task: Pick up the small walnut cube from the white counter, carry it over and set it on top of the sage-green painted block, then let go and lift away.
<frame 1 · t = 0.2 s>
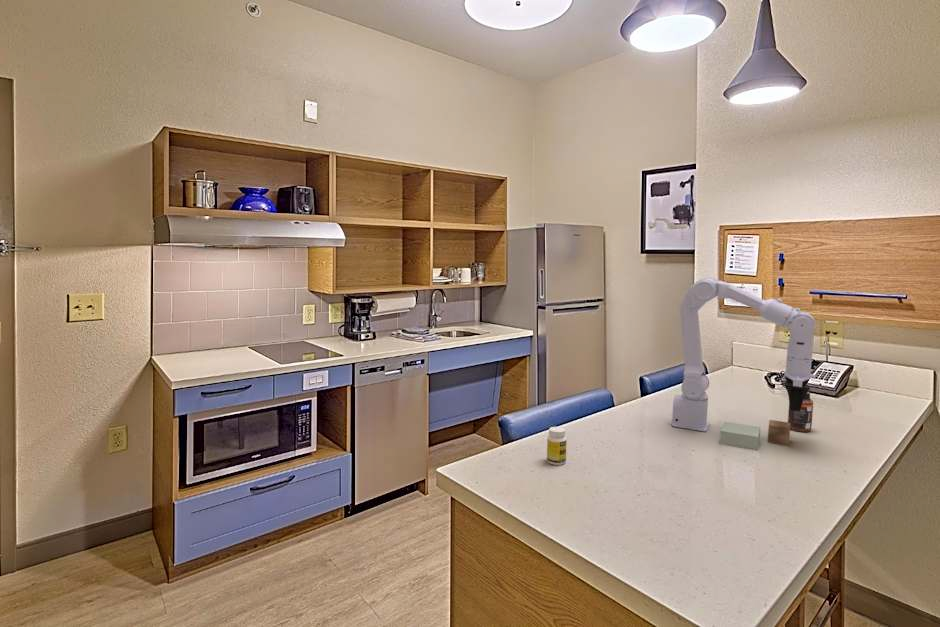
hand: (794, 406, 143), 10 cm above the table, tool pointing down, fingers open, 7 cm apart
supplement bottle: (799, 429, 155), on the table
sage block: (739, 442, 145), on the table
supplement bottle 2: (556, 462, 132), on the table
walnut cube: (778, 441, 146), on the table
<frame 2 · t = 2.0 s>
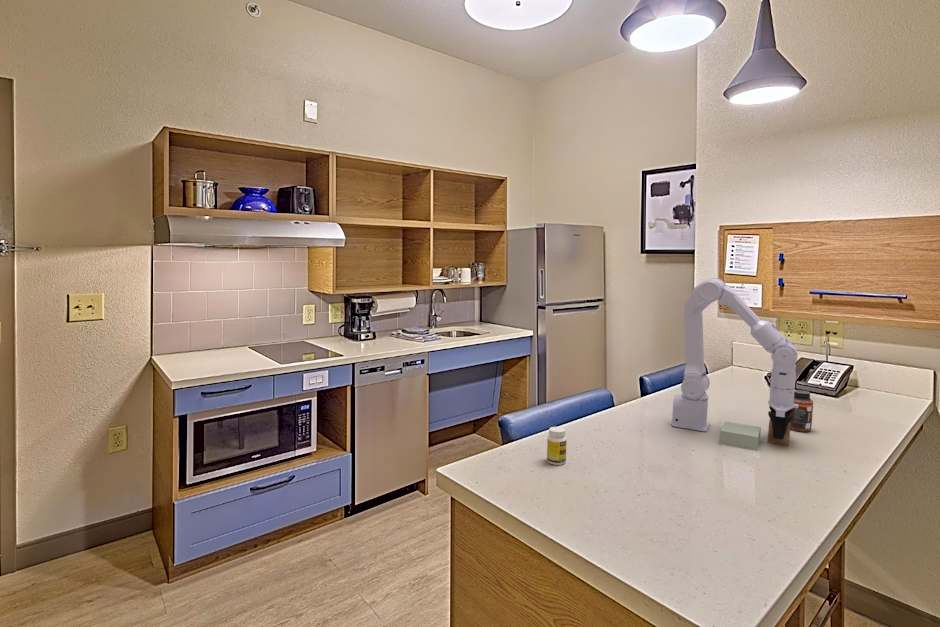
hand: (778, 435, 146), 2 cm above the table, tool pointing down, fingers closed on walnut cube, 5 cm apart
walnut cube: (778, 440, 146), on the table, touching gripper
everything else where it was.
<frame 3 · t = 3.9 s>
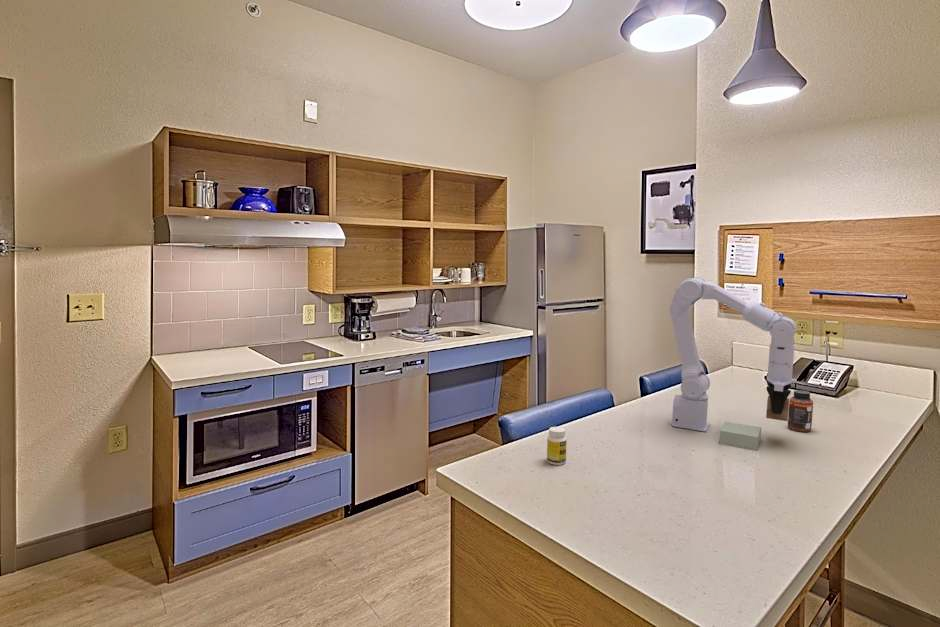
hand: (776, 410, 145), 9 cm above the table, tool pointing down, fingers closed on walnut cube, 5 cm apart
walnut cube: (776, 417, 145), point 7 cm above the table, touching gripper
everything else where it was.
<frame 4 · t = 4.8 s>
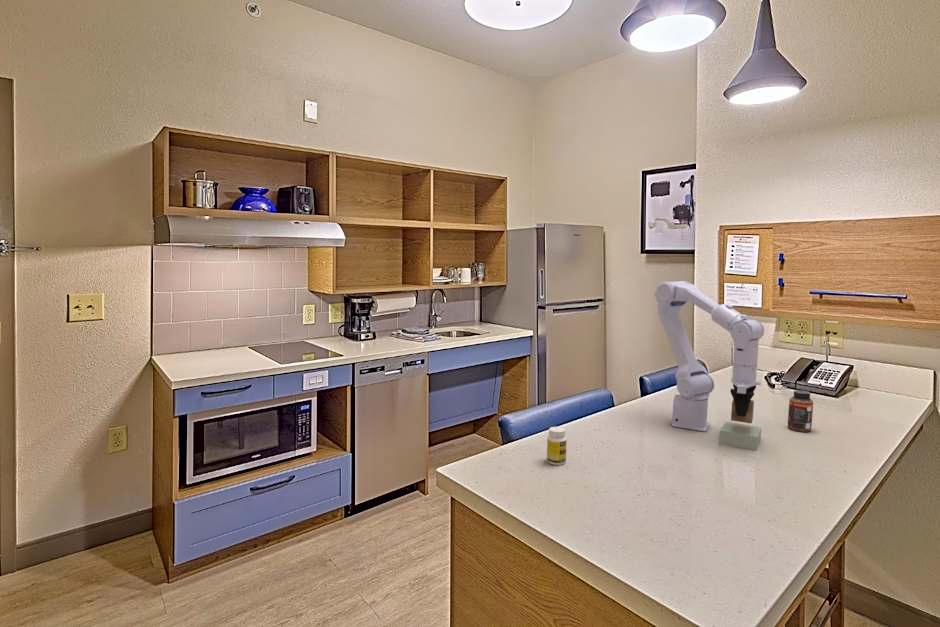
hand: (741, 413, 144), 8 cm above the table, tool pointing down, fingers closed on walnut cube, 5 cm apart
walnut cube: (741, 419, 144), point 6 cm above the table, touching gripper
everything else where it was.
when the fingers open (7 cm above the table, at t = 5.6 s): walnut cube drops 1 cm, resting on sage block.
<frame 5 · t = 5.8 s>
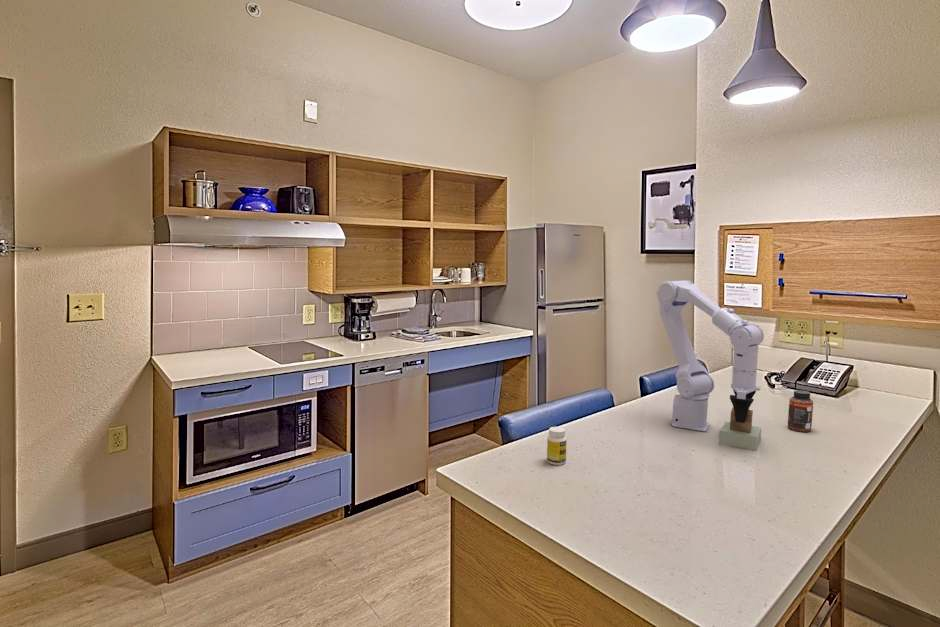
hand: (741, 418, 144), 7 cm above the table, tool pointing down, fingers open, 7 cm apart
sage block: (739, 443, 145), on the table, touching walnut cube
walnut cube: (740, 428, 145), point 4 cm above the table, touching sage block
everything else where it was.
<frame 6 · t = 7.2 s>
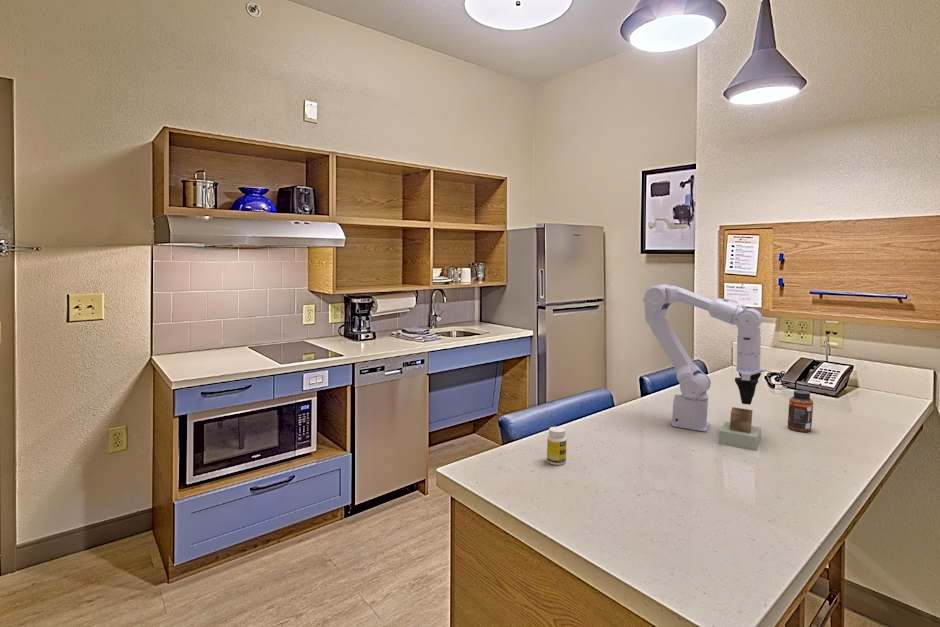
hand: (747, 400, 148), 10 cm above the table, tool pointing down, fingers open, 7 cm apart
nothing on the table moved.
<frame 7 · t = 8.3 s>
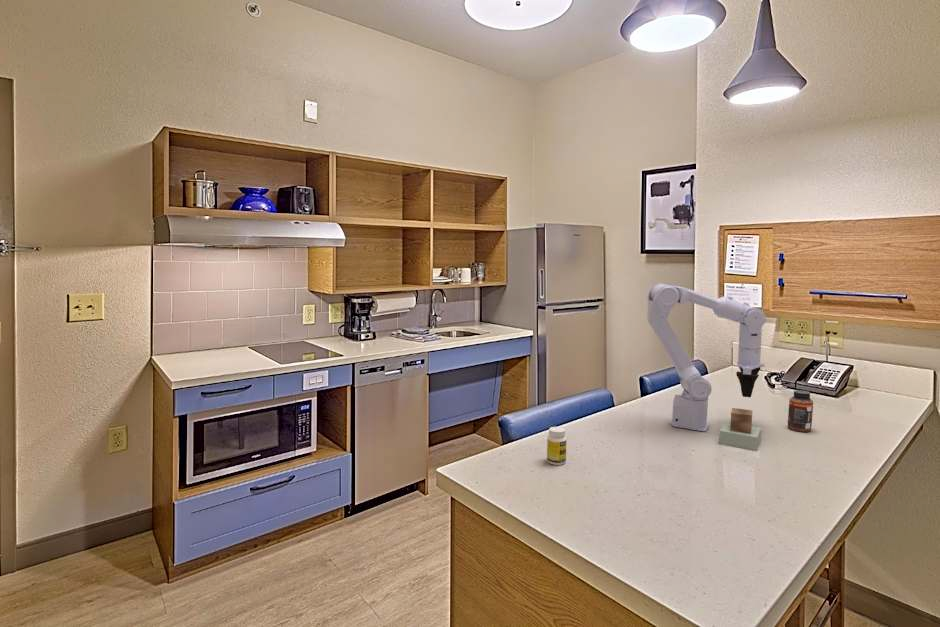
hand: (747, 393, 155), 10 cm above the table, tool pointing down, fingers open, 7 cm apart
sage block: (739, 443, 145), on the table
walnut cube: (740, 429, 145), point 4 cm above the table
everything else where it was.
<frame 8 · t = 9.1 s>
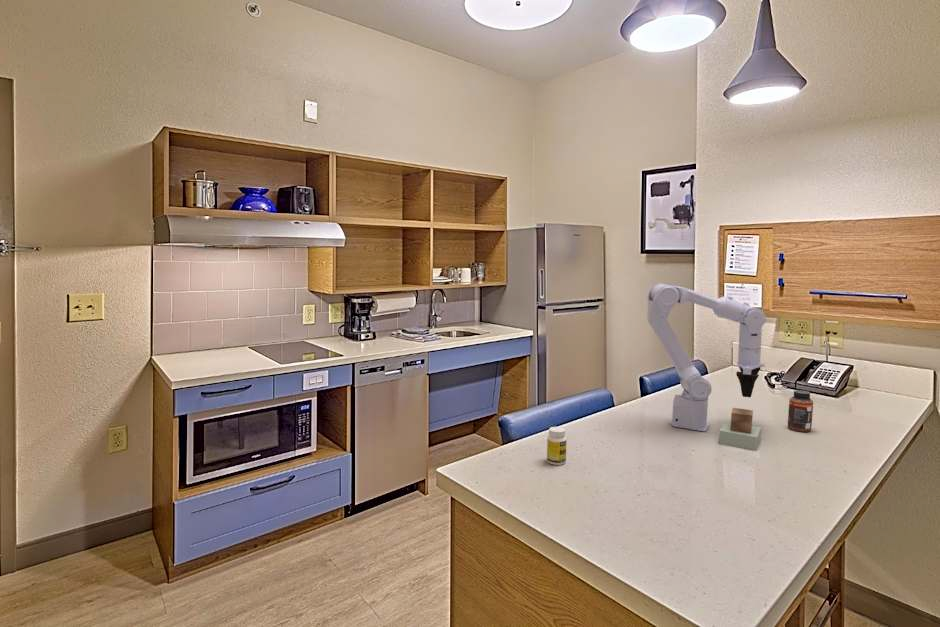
hand: (747, 393, 155), 10 cm above the table, tool pointing down, fingers open, 7 cm apart
nothing on the table moved.
at the end: walnut cube 0.3 cm off-centre on the sage block, point 4.0 cm above the sage block's base; walnut cube tilted 0°; the gripper is holding nothing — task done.
